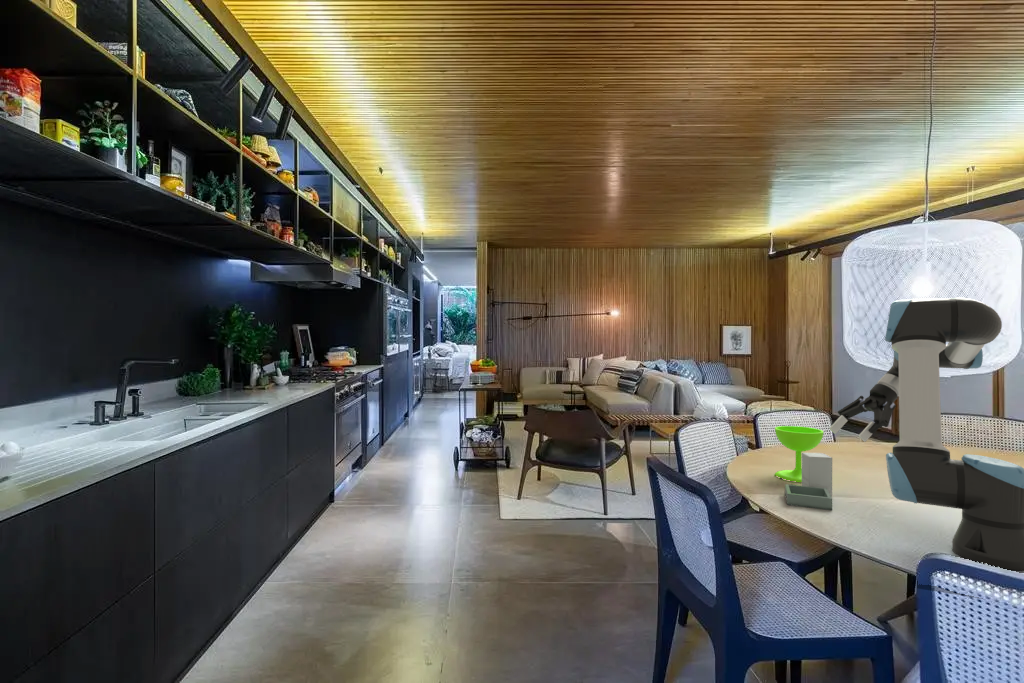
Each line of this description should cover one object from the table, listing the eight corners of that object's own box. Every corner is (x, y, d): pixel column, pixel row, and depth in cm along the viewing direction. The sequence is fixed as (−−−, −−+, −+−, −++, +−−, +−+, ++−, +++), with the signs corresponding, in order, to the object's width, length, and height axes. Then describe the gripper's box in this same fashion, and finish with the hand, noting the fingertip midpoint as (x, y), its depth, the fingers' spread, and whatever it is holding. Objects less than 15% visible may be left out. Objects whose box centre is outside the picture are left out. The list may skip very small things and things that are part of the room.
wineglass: (829, 478, 196) (829, 429, 196) (814, 486, 185) (815, 435, 185) (783, 470, 208) (784, 424, 208) (767, 477, 197) (767, 429, 197)
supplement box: (832, 495, 174) (833, 457, 174) (808, 494, 176) (808, 456, 176) (824, 489, 182) (824, 452, 181) (801, 488, 183) (801, 451, 183)
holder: (832, 510, 160) (832, 498, 160) (787, 505, 164) (787, 493, 164) (826, 499, 171) (826, 488, 171) (784, 494, 175) (785, 484, 175)
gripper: (926, 402, 169) (883, 450, 168) (866, 393, 194) (828, 435, 193) (911, 386, 169) (867, 434, 167) (853, 379, 194) (814, 421, 192)
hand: (846, 434), depth 180 cm, fingers open, 13 cm apart
